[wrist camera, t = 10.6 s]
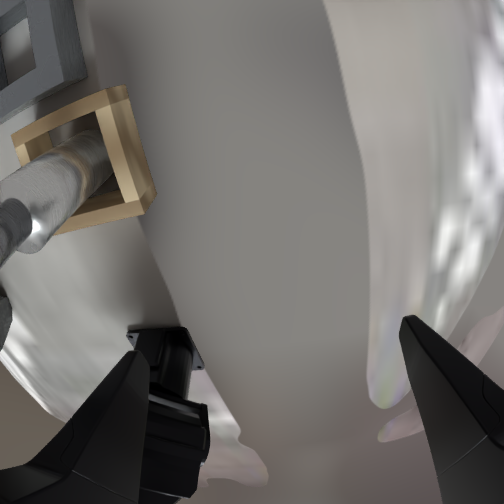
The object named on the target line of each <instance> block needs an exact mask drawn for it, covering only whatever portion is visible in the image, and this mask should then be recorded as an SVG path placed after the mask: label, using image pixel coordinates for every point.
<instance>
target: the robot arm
mask: <svg viewBox="0 0 504 504" xmlns="http://www.w3.org/2000/svg"><path fill="white" fill-rule="evenodd" d="M126 336H127V338H128V340H129V341H130V343H131V344H132V346H133V347H134V350H131V351H128V352H127V353H126V354H125V355H124V356H123V357H122V359H121V360H120V361H119V362H118V363H117V364H116V366H115V367H114V368H113V369H112V370H111V371H110V372H109V374H108V375H107V376H106V377H105V378H104V379H103V381H102V382H101V383H100V384H99V385H98V386H97V388H96V389H95V390H94V391H93V392H92V394H91V395H90V396H89V397H88V398H87V399H86V401H85V402H84V403H83V404H82V405H81V407H80V408H79V409H78V410H77V411H76V413H75V414H74V415H73V416H72V418H70V420H69V421H68V422H67V423H66V424H65V426H64V427H63V428H62V429H61V430H60V431H59V432H58V434H57V435H56V436H55V437H54V438H53V439H52V440H51V441H50V442H49V443H48V444H47V445H46V446H45V447H44V448H43V449H42V450H41V451H40V452H39V453H38V454H37V455H36V456H35V457H34V458H33V459H32V460H30V461H29V462H27V463H26V464H23V465H20V466H16V467H12V468H8V469H3V470H0V504H176V503H177V502H178V501H179V500H180V499H181V498H186V499H188V498H190V497H191V496H192V495H193V494H194V492H195V491H196V490H197V484H198V476H199V470H200V467H201V466H202V465H203V464H204V463H205V461H206V459H207V456H208V453H209V448H210V430H209V420H208V409H207V405H206V404H203V403H201V404H199V403H196V402H192V401H189V400H188V393H189V385H190V378H191V372H192V370H203V369H204V362H203V360H202V358H201V356H200V354H199V352H198V350H197V348H196V346H195V344H194V342H193V340H192V338H191V336H190V334H189V332H188V330H187V328H185V327H173V328H161V329H147V330H131V331H128V332H127V335H126ZM399 340H400V344H401V348H402V352H403V356H404V361H405V365H406V369H407V374H408V378H409V381H410V384H411V387H412V390H413V393H414V396H415V399H416V402H417V406H418V409H419V412H420V415H421V419H422V422H423V425H424V429H425V432H426V435H427V439H428V443H429V446H430V450H431V454H432V458H433V462H434V466H435V470H436V474H437V476H438V477H437V479H438V483H439V488H440V492H441V497H442V502H443V504H504V390H503V389H502V388H500V387H499V386H498V385H497V384H496V383H495V382H493V381H492V380H491V379H490V378H489V377H488V376H487V375H485V374H484V373H483V372H482V371H481V370H480V369H479V368H477V367H476V366H475V365H474V364H473V363H472V362H471V361H469V360H468V359H467V358H466V357H465V356H464V355H462V354H461V353H460V352H459V351H458V350H457V349H455V348H454V347H453V346H452V345H451V344H450V343H448V342H447V341H446V340H445V339H444V338H442V337H441V336H440V335H439V334H438V333H436V332H435V331H434V330H433V329H432V328H430V327H429V326H428V325H427V324H426V323H424V322H423V321H422V320H421V319H419V318H418V317H417V316H416V315H409V316H405V317H403V319H402V322H401V327H400V331H399Z"/></svg>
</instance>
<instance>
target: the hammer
mask: <svg viewBox="0 0 504 504" xmlns="http://www.w3.org/2000/svg"><path fill="white" fill-rule="evenodd" d="M11 323H12V309H11V306H10V303H9V300H8V298H7V297H4V296H0V351H1V350H2V348H3V345H4V342H5V340H6V337H7V334H8V331H9V328H10V325H11Z"/></svg>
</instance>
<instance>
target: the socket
mask: <svg viewBox="0 0 504 504" xmlns="http://www.w3.org/2000/svg"><path fill="white" fill-rule="evenodd" d="M26 17H28V24H29V31H30V37H31V43H32V48H33V54H34V59H35V63H36V68H35V69H33V70H31V71H30V72H28V73H27V74H25V75H24V76H22V77H20V78H19V79H17V80H16V81H14V82H13V83H12V84H10V85H9V86H8V82H7V77H6V72H5V67H4V62H3V56H2V50H1V44H0V124H2V123H4V122H5V121H7V120H8V119H10V118H11V117H13V116H15V115H16V114H18V113H19V112H21V111H23V110H24V109H26V108H28V107H30V106H31V105H33V104H35V103H37V102H38V101H40V100H42V99H44V98H46V97H47V96H49V95H51V94H53V93H55V92H57V91H59V90H61V89H63V88H65V87H67V86H69V85H71V84H73V83H75V82H78V81H80V80H82V79H84V78H86V77H88V76H87V71H86V67H85V63H84V59H83V54H82V49H81V45H80V40H79V35H78V30H77V24H76V19H75V13H74V7H73V1H72V0H0V36H1V35H3V34H4V33H5V32H6V31H8V30H9V29H10V28H12V27H13V26H15V25H16V24H17V23H19V22H20V21H21V20H23V19H24V18H26Z"/></svg>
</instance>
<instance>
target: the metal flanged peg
mask: <svg viewBox="0 0 504 504" xmlns="http://www.w3.org/2000/svg"><path fill="white" fill-rule="evenodd" d="M113 172H114V170H113V167H112V164H111V161H110V158H109V155H108V152H107V149H106V145H105V142H104V139H103V136H102V133H101V132H100V131H97V130H86V131H83V132H81V133H79V134H77V135H75V136H73V137H71V138H70V139H68V140H66V141H64V142H62V143H61V144H59V145H57V146H55V147H54V148H52V149H50V150H48V151H47V152H45V153H43V154H42V155H40V156H38V157H37V158H35V159H34V160H32V161H30V162H29V163H27V164H26V165H24V166H23V167H21V168H20V169H18V170H17V171H15V172H14V173H12V174H11V175H9V176H8V177H6V178H5V179H3V180H2V181H1V182H0V269H1V267H2V266H3V265H4V264H5V263H6V261H7V260H8V259H9V258H10V257H11V256H12V255H13V253H14V252H15V251H16V250H17V251H19V252H22V253H26V254H32V253H36V252H38V251H40V250H41V249H42V248H43V247H44V245H45V244H46V243H47V242H48V241H49V240H50V238H51V237H52V236H53V235H54V234H55V233H56V232H57V230H58V229H59V228H60V227H61V226H62V225H63V224H64V223H65V222H66V220H67V219H68V218H69V217H70V216H71V215H72V214H73V213H74V212H75V211H76V210H77V209H78V208H79V207H80V206H81V205H82V204H83V203H84V202H85V201H86V200H87V198H88V197H89V196H90V195H91V194H92V193H93V192H95V191H96V190H97V189H98V188H99V187H100V186H101V185H102V184H103V183H104V182H105V181H106V180H107V179H108V178H109V177H110V176H111V175H112V173H113Z"/></svg>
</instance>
